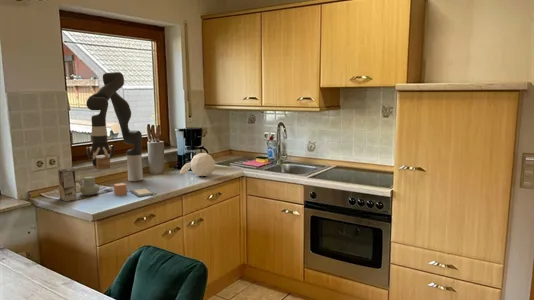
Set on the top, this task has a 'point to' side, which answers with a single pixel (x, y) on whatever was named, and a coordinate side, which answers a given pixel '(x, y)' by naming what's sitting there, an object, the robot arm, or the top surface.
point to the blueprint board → (142, 192)
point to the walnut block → (102, 162)
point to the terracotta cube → (120, 189)
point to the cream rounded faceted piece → (200, 165)
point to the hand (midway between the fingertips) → (101, 165)
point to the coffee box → (67, 184)
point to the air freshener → (89, 186)
